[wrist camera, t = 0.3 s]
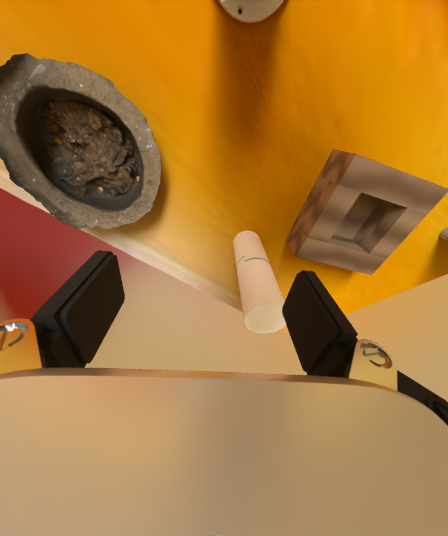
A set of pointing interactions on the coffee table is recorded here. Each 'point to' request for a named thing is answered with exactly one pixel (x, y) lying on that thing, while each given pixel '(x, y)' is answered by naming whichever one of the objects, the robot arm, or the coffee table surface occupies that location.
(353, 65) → the coffee table surface
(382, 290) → the coffee table surface
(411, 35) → the coffee table surface
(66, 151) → the stone bowl
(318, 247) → the walnut well block
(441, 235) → the hip flask
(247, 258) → the cylindrical container
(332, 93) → the coffee table surface
